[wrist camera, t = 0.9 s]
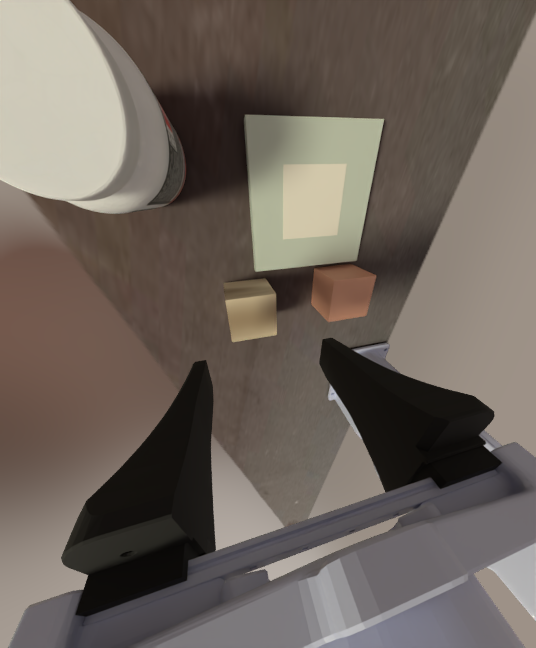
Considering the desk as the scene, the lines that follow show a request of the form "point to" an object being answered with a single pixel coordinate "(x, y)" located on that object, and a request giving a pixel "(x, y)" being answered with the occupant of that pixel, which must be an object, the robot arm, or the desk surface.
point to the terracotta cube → (342, 291)
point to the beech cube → (250, 309)
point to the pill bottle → (80, 114)
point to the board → (308, 187)
